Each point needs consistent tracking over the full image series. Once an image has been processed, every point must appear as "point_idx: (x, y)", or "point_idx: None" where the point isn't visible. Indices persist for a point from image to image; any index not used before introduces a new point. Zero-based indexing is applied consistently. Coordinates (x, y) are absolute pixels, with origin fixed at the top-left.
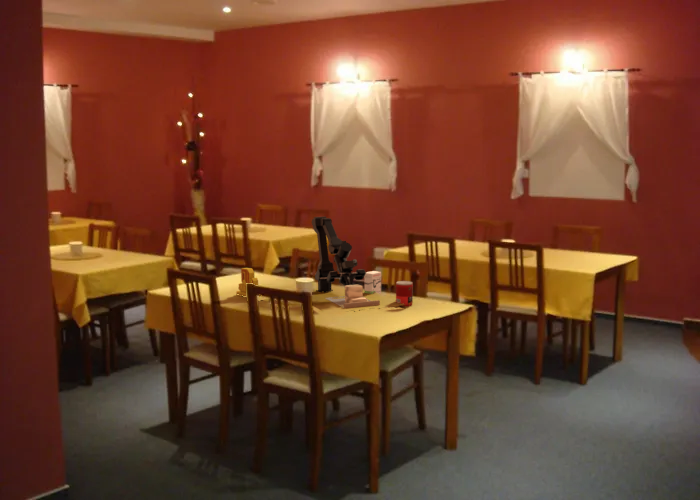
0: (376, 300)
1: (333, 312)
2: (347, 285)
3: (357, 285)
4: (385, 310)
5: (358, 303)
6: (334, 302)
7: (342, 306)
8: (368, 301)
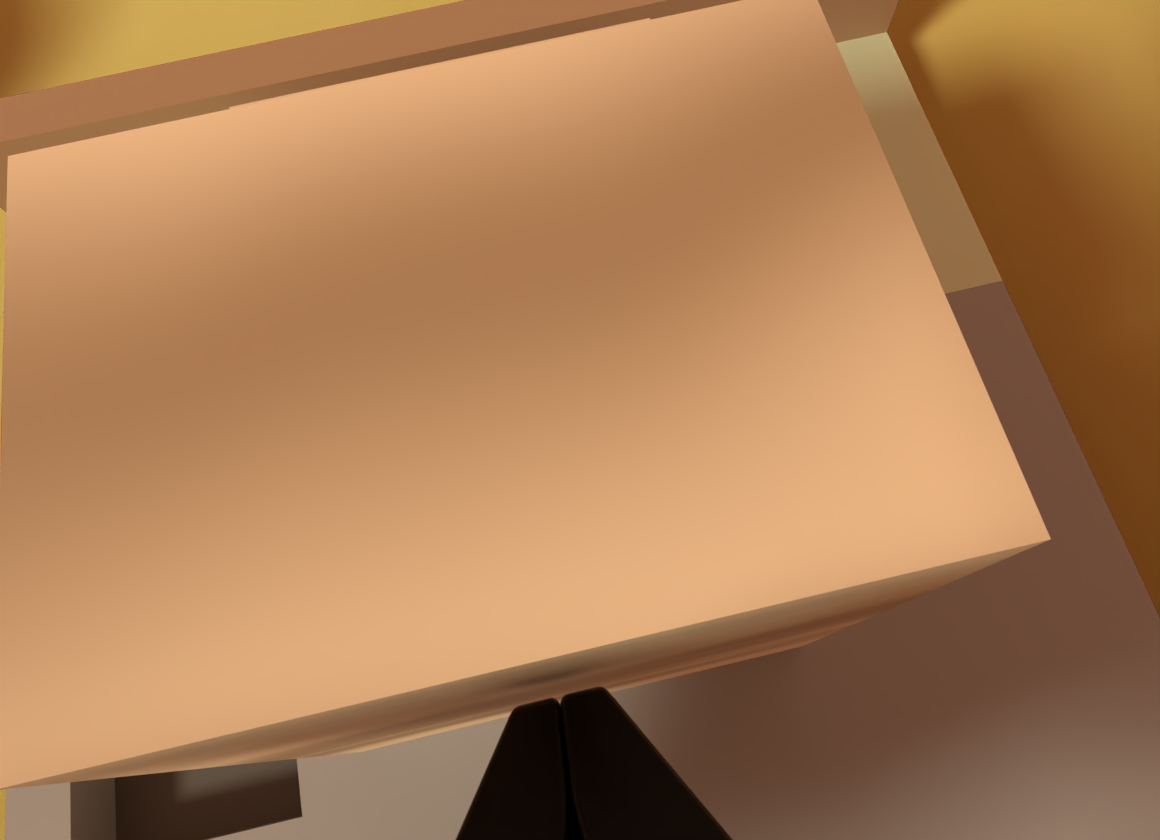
0: (11, 130)
1: (1082, 6)
2: (858, 553)
3: (191, 425)
4: (58, 21)
5: (534, 7)
6: (1138, 639)
7: (909, 138)
8: (253, 56)
